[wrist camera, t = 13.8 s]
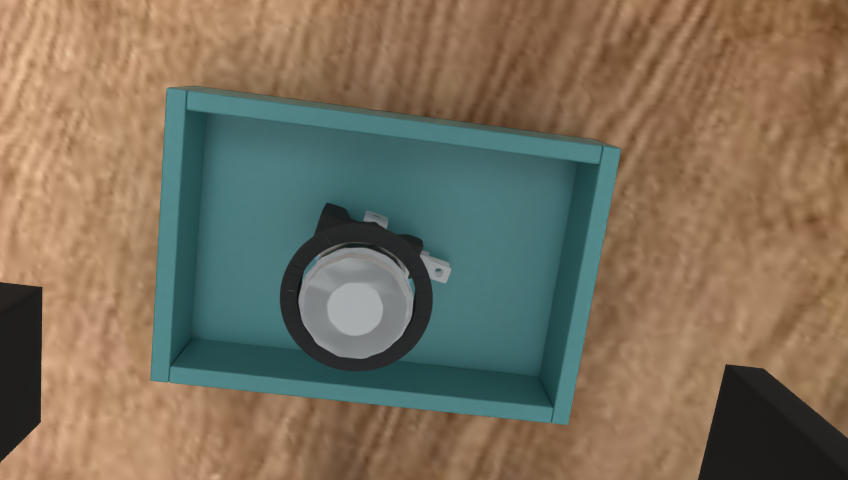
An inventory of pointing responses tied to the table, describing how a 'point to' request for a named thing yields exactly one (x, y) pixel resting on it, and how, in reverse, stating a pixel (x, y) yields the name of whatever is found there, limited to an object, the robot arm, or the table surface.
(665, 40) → the table surface
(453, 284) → the tray
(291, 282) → the push button
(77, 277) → the table surface
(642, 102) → the table surface
